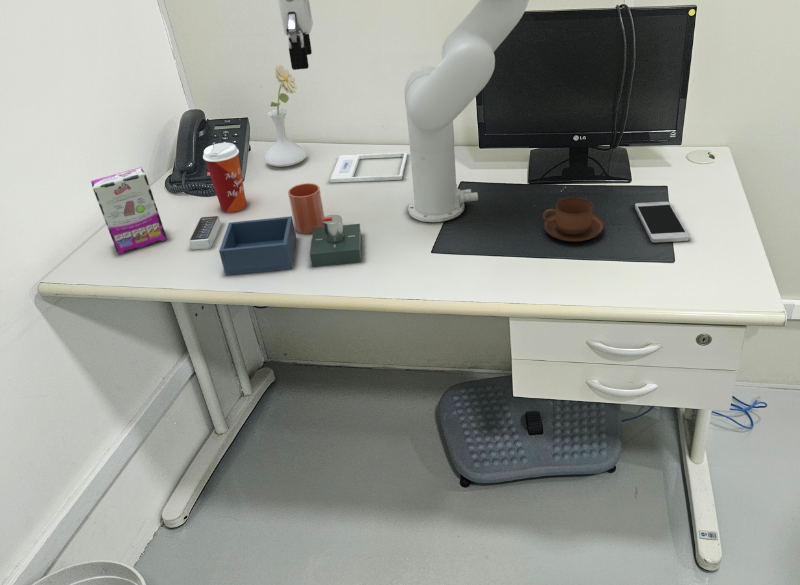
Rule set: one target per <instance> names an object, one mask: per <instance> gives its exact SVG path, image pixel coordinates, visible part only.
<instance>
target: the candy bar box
mask: <svg viewBox="0 0 800 585" xmlns="http://www.w3.org/2000/svg"><path fill="white" fill-rule="evenodd" d="M90 184H91V187H92V190H93V193H94V196H95V199H96V201H97V203H98V206H99V209H100V211H101V214H102V216H103V219H104V222H105V225H106V228H107V230H108V233H109V235H110V238H111V241H112V243H113V245H114V249H115V251H116V253H117V255H123V254H125V253H129V252H132V251H136V250H139V249H142V248H145V247H148V246H151V245H155V244H158V243H162V242H164V241H167V240H168V238H167V234H166V232H165V229H164V228H165V227H164V225H163V222H162V219H161V217H160V212H159V210H158V207H157V205H156V201H155V198H154V195H153V192H152V189H151V186H150V182H149V179H148V177H147V173H145V171H144V169H143V167H142V166H140V167H137V168H133V169H130V170H126V171H122V172H118V173H115V174H112V175H111V174H110V175H107V176H104V177H100V178H97V179H94V180H93V179H92V180H90Z"/></svg>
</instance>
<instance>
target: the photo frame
mask: <svg viewBox="0 0 800 585" xmlns="http://www.w3.org/2000/svg"><path fill="white" fill-rule="evenodd" d="M381 158H382V159H384V158H388V159H389V158H402V161H401V166H400V169H399V173H398V174H394V175H371V176H370V175H369V176H368V175H367V176H354V175H355V173H356V170H357V168H358V165H359V162H360V160H363V159H381ZM407 159H408V152H388V153H387V152H386V153H385V152H384V153H364V154H363V153H361V154H343V155H342V154H341V155H339V156H338V159H337V161H336V164H335V166H334V168H333V170H332V173H331V176H330V178H329V182H330V183H353V182H376V181H377V182H379V181H399V180H400V181H401V180H403V177H404V172H405V168H406V163H407Z"/></svg>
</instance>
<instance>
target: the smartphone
mask: <svg viewBox="0 0 800 585" xmlns="http://www.w3.org/2000/svg"><path fill="white" fill-rule="evenodd" d="M634 209H635V211H636V213H637V215H638V218H639V219H640V221H641V224H642V225H643V227H644V229H645V231H646V233H647V236H648V237H649V240H650V242H651V243H655V244H656V243H672V242H688V241H689V240H690V235H689V233H688V232H687V230H686V228H685V227H684V224H683V223H682V221H681V219H680V218H679V215H678V214H677V213H676V211H675V210H674V207H673V206H672V203H670V201H656V202H636V203H635V204H634Z"/></svg>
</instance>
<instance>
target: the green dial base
mask: <svg viewBox="0 0 800 585" xmlns="http://www.w3.org/2000/svg"><path fill="white" fill-rule="evenodd" d="M343 227H344V234H345V238H344V240H342V241H340V242H337V243H330V242H327V241H326V237H325V232H324V227H320V228H313V233H312V234H311V242H310V250H309V257H310V262H311V267H312V268H313V267H323V266H332V265H342V264H343V265H344V264H352V263H355V264H356V263H361V262H362V232H361V224H360V223H352V224H343Z"/></svg>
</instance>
